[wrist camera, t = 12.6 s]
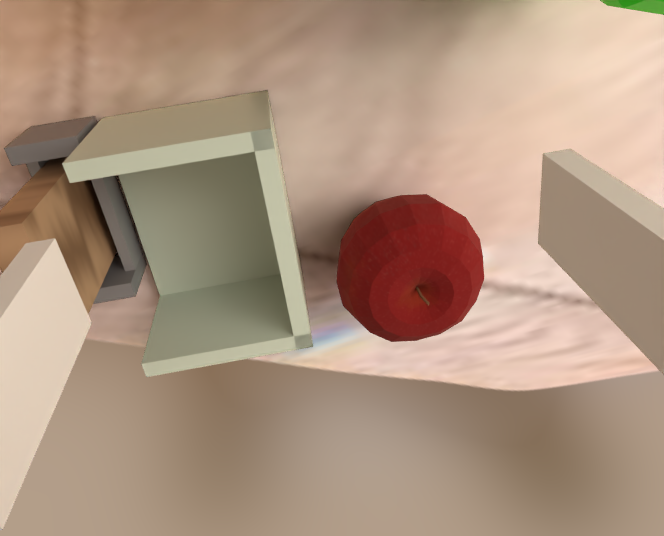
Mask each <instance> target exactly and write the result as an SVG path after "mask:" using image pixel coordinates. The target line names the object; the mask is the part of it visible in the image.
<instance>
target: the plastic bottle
mask: <svg viewBox="0 0 664 536" xmlns="http://www.w3.org/2000/svg"><path fill="white" fill-rule="evenodd" d="M600 1H602V2H603V3H604V4H606V5H608V6H614V7H620V8H626V9H632V10H638V11H644V12H650V13H657V14H663V15H664V0H600Z"/></svg>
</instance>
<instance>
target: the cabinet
mask: <svg viewBox="0 0 664 536" xmlns="http://www.w3.org/2000/svg"><path fill="white" fill-rule="evenodd" d="M4 149H5V152H6V154H7V156H8V158H9V161H10V163H11V165H12V166H14V165H20V164H26V165H27V167H28V170H29V172H30V174H31V177H33V176H34V175H35V174H36V173H37V172H38V171H39V170H40V169H41V168H42V167H43V166H44V165H45V164H46V163H47V161H48V160H50V159H56V158H62V157H67V159H66V160H65V161H64V162H63V163H62V165H63V167H64V170H65V172H66V175H67V177H68V180H69V182H70V183H74V182H80V181H85V180H91V181H92V184H93V187H94V189H95V192H96V195H97V197H98V200H99V203H100V205H101V208H102V211H103V213H104V216H105V219H106V221H107V224H108V227H109V229H110V232H111V235H112V238H113V240H114V243H115V246H116V248H117V251H118V254H119V256H114V258H113V261H112V263H111V265H110V267H109V269H108V272H107V274H106V276H105V278H104V281H103V283H102V285H101V287H100V289H99V292H98V294H97V296H96V298H95V300H94V303H93V304H96V303H101V302H107V301H113V300H118V299H124V298H129V297H135V296H136V294H137V291H138V288H139V285H140V282H141V279H142V276H143V273H144V270H145V267H146V261H145V258H144V255H143V253H142V250H141V247H140V244H139V241H138V238H137V235H136V232H135V230H134V227H133V224H132V221H131V218H130V215H129V212H128V209H127V207H126V204H125V201H124V198H123V195H122V192H121V189H120V187H119V184H118V181H117V178H116V175H118V176H119V179H120V182H121V185H122V188H123V191H124V193H125V196H126V199H127V202H128V205H129V208H130V211H131V214H132V217H133V219H134V222H135V225H136V228H137V231H138V234H139V237H140V240H141V243H142V245H143V248H144V251H145V254H146V257H147V260H148V263H149V266H150V269H151V271H152V274H153V277H154V280H155V283H156V286H157V289H158V292H159V295H160V297H159V301H158V304H157V308H156V312H155V315H154V319H153V323H152V326H151V330H150V334H149V337H148V341H147V345H146V349H145V352H144V356H143V360H142V363H141V365H142V367H143V370H144V372H145V375H146V377H150V376H155V375H161V374H166V373H172V372H177V371H182V370H188V369H194V368H199V367H204V366H210V365H215V364H221V363H226V362H232V361H237V360H243V359H248V358H254V357H259V356H264V355H270V354H275V353H281V352H286V351H292V350H297V349H303V348H308V347H313V343H312V336H311V329H310V322H309V315H308V308H307V302H306V295H305V288H304V281H303V275H302V270H301V264H300V259H299V254H298V248H297V243H296V238H295V233H294V227H293V222H292V217H291V211H290V206H289V201H288V196H287V190H286V185H285V180H284V174H283V169H282V164H281V159H280V153H279V148H278V143H277V138H276V132H275V127H274V122H273V116H272V111H271V106H270V101H269V95H268V90H266V91H260V92H254V93H248V94H242V95H236V96H230V97H224V98H218V99H212V100H206V101H200V102H194V103H188V104H182V105H176V106H170V107H164V108H158V109H152V110H146V111H140V112H134V113H128V114H122V115H116V116H110V117H104V118H102V119H101V120H100V121H99V122H98V123H97V121H96V118H95V116H92V117H86V118H80V119H74V120H68V121H62V122H56V123H50V124H44V125H38V126H32V127H30V128H28V129H27V130H26V131H25V132H23V133H22V134H21V135H20V136H19V137H17V138H16V139H15V140H14V141H12V142H11V143H10V144H9V145H7V146H6V147H5V148H4Z"/></svg>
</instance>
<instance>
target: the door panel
mask: <svg viewBox="0 0 664 536" xmlns="http://www.w3.org/2000/svg"><path fill="white" fill-rule="evenodd" d="M66 159H67V157H62V158H56V159H50V160H48V161H47V163H46V164H45V165H44V166H43V167H42V168H41V169H40V170H39V171H38V172H37V173H36V174H35V175H34V176H33V177H32V178H31V179H30V180H29V181H28V182H27V183H26V184H25V185H24V186H23V187H22V188H21V190H20V191H19V192H18V193H17V194H16V195H15V196H14V197H13V198H12V199H11V200H10V201H9V202H8V203H7V204H6V205H5V206H4V207H3V208H2V209H1V210H0V269H1V271H2V273H3V272H4V271H5V270H6V268H7V267H8V266H9V264H10V263H11V262H12V260H13V259H14V258H15V257H16V255H17V254H18V253H19V251H20V250H21V249H22V247H23V246H24V245H25V244H26V243H30V242H36V241H42V240H48V239H53V238H55V239H56V241H57V244H58V246H59V248H60V251H61V253H62V255H63V258H64V260H65V262H66V265H67V267H68V269H69V271H70V274H71V276H72V278H73V281H74V283H75V285H76V288H77V290H78V292H79V295H80V297H81V299H82V302H83V304H84V306H85V309H86V311H87V313H88V314H89V312H90V309H91V307H92V305H93V303H94V300H95V298H96V296H97V294H98V292H99V289H100V287H101V285H102V283H103V281H104V278H105V276H106V274H107V272H108V269H109V267H110V265H111V263H112V261H113V258H114V256H115V254H116V252H117V248H116V246H115V243H114V240H113V238H112V235H111V232H110V229H109V227H108V224H107V221H106V219H105V216H104V213H103V211H102V208H101V205H100V203H99V200H98V197H97V195H96V192H95V189H94V187H93V184H92V181H91V180H85V181H80V182H74V183H70V182H69V180H68V177H67V175H66V172H65V170H64V167H63V165H62V163H63V162H64V161H65V160H66Z"/></svg>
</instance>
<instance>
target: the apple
mask: <svg viewBox="0 0 664 536" xmlns="http://www.w3.org/2000/svg"><path fill="white" fill-rule="evenodd" d="M483 280H484V269H483V255H482V249H481V244H480V239H479V237H478V236H477V234H476V233H475V231H474V230H473V228H472V226H471V225H470V223H469V222H468V220H467V219H466V217H464V216H463V215H461V214H459V213H458V212H456V211H454V210H453V209H451V208H449V207H448V206H446V205H444V204H442V203H441V202H439V201H437V200H436V199H434V198H432V197H430V196H429V195H427V194H423V195H400V196H396V197H392V198H388V199H385V200H381V201H378V202H375V203H374V204H372V205H371V206H370V207H368V208H367V209H365V210H364V211H362V212H361V213H360V214H359V215H358V216H357V217H356V218H354V220H353V221H352V223H351V225H350V226H349V228H348V230H347V231H346V233H345V235H344V236H343V238H342V240H341V246H340V253H339V259H338V270H337V285H338V289H339V293H340V297H341V300H342V304H343V306H344V307H345V308H346V309H347V310H348V311H349V312H350V313H351V314H352V315H353V316H354V317H355V318H356V319H357V320H358V321H359V322H360V323H361V324H362V325H363V326H364V327H365V328H366V329H367V330H368V331H369V332H370V333H373V334H375V335H377V336H379V337H382V338H384V339H386V340H389V341H391V342H396V341H416V340H420V339H424V338H427V337H431V336H435V335H438V334H441V333H443V332H444V331H446V330H448V329H449V328H451V327H453V326H454V325H456V324H458V323H459V322H461V321H462V320H463V319H464V317H465V316H466V314H467V313H468V312H469V310H470V309H471V307H472V306H473V305H474V303H475V302H476V300H477V297H478V295H479V292H480V289H481V286H482V283H483Z"/></svg>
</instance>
